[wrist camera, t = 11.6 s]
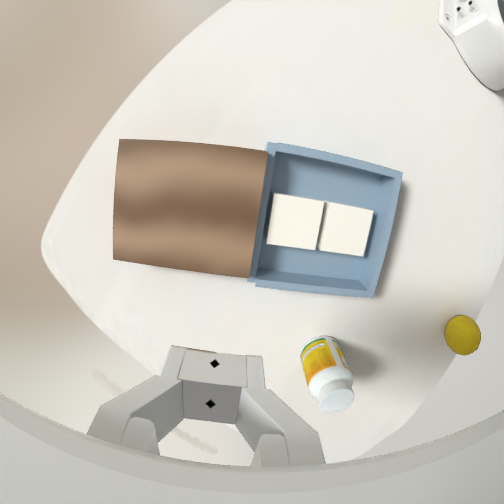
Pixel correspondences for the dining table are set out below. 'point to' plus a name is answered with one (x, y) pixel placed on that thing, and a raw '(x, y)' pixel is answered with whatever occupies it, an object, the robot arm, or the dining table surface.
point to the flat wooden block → (187, 205)
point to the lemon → (462, 335)
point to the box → (324, 188)
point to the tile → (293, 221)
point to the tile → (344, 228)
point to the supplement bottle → (327, 374)
